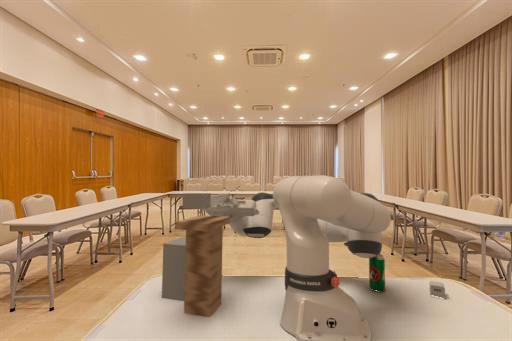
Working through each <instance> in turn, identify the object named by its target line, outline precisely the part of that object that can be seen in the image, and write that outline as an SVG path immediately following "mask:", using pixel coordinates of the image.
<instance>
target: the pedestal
mask: <svg viewBox="0 0 512 341" xmlns="http://www.w3.org/2000/svg"><path fill="white" fill-rule="evenodd" d="M162 246H163V247H162V248H163V249H162V273H161V274H162V275H161V276H162V278H161V280H162V282H161V298H162V299H169V300H175V301H176V300H177V301H183V302H184V292H185V251H186V235H183V236H181V237H178V238H175V239H173V240H170V241H167V242H164V243H163V244H162Z"/></svg>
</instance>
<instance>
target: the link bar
mask: <svg viewBox="0 0 512 341" xmlns="http://www.w3.org/2000/svg"><path fill="white" fill-rule="evenodd" d="M228 196H232V194H231V193H220V194H212V193H210V192H209V193H208V192H206V193H204V192H195V193H194V192H190V193H188V192H187V193H182V204H181V206H182V209H188V210H204V209H206V208H210V206H216V205H221V204H226V203H231V202H228V200H227V198H228Z"/></svg>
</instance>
